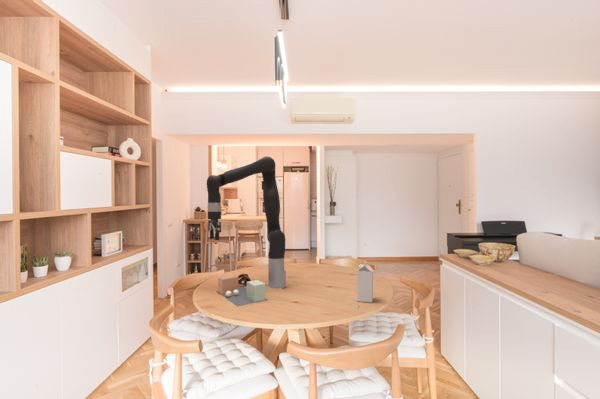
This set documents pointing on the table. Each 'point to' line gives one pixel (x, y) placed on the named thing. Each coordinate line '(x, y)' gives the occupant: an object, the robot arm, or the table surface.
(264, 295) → the pale green cuboid
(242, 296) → the slate mat
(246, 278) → the brown sculpted ring
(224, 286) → the upright salmon pillar
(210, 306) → the table surface
